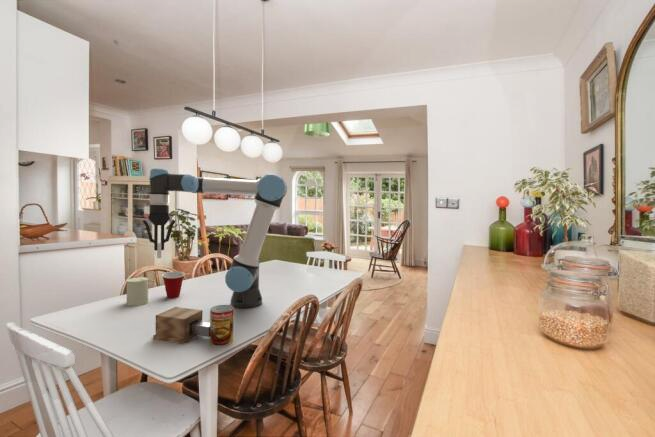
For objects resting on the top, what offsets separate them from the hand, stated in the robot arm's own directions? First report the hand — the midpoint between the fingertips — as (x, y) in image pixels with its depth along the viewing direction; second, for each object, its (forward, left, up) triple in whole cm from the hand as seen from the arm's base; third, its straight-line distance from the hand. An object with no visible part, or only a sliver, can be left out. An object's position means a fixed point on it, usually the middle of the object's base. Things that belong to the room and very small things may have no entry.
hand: (159, 257), depth 140 cm
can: (+8, -19, -25) cm, 32 cm away
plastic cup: (-8, -23, -25) cm, 35 cm away
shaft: (-7, +33, -23) cm, 41 cm away
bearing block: (-5, +31, -24) cm, 40 cm away
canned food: (-17, +43, -25) cm, 53 cm away
